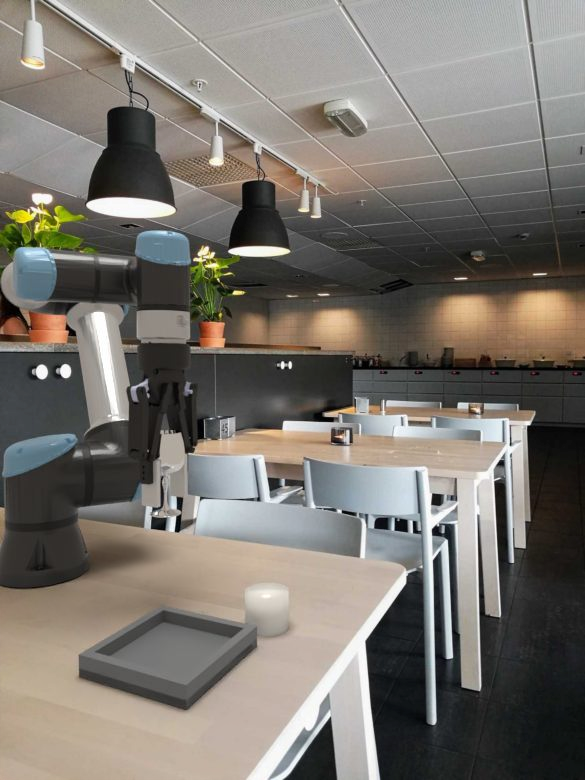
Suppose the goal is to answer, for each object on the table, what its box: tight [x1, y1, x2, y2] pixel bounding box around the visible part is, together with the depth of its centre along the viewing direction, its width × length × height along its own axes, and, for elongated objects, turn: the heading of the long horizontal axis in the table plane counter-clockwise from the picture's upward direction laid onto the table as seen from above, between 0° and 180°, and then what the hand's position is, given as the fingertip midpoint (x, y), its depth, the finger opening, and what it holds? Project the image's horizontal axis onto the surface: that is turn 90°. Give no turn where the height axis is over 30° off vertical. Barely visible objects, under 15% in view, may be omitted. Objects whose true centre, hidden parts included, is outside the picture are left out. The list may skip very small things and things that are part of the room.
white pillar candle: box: [244, 582, 290, 638], centre depth 79 cm, size 6×6×5 cm
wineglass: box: [148, 429, 185, 519], centre depth 84 cm, size 6×6×12 cm
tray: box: [78, 605, 258, 710], centre depth 70 cm, size 15×15×3 cm
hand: (165, 500), depth 85 cm, fingers closed on wineglass, 6 cm apart
